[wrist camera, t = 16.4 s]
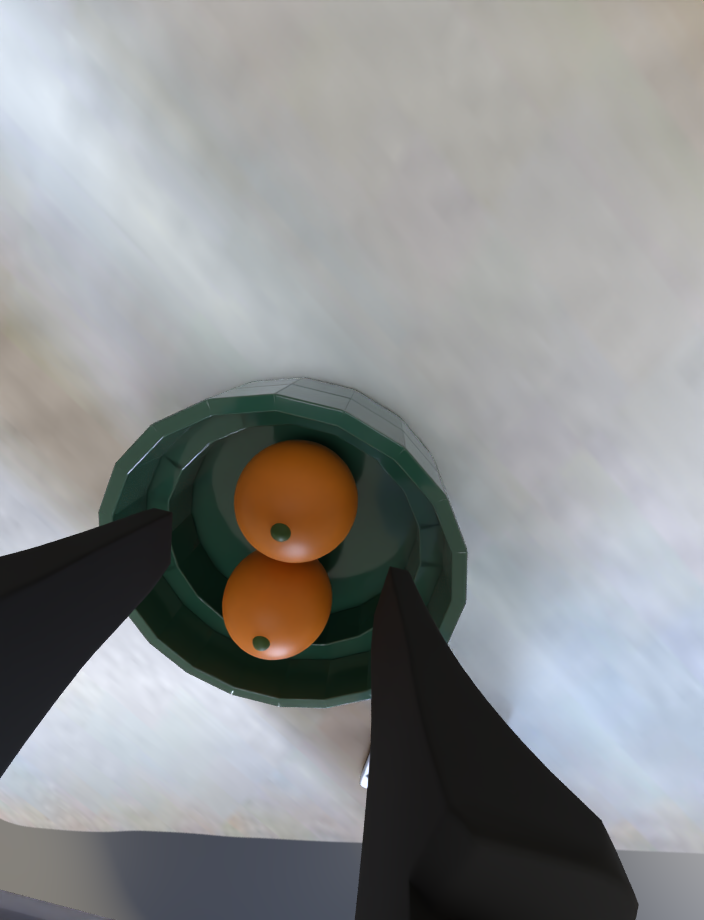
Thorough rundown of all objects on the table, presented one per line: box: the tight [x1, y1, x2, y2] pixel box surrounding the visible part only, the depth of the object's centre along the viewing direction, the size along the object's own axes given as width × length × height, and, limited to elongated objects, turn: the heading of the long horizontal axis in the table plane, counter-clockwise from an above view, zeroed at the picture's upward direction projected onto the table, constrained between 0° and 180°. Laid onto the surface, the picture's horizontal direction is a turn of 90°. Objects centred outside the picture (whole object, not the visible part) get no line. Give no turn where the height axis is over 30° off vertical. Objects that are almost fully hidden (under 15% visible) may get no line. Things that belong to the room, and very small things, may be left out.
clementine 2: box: [222, 550, 332, 660], centre depth 17 cm, size 5×5×5 cm
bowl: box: [98, 377, 468, 708], centre depth 17 cm, size 15×15×5 cm
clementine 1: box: [234, 440, 358, 563], centre depth 15 cm, size 5×5×5 cm
